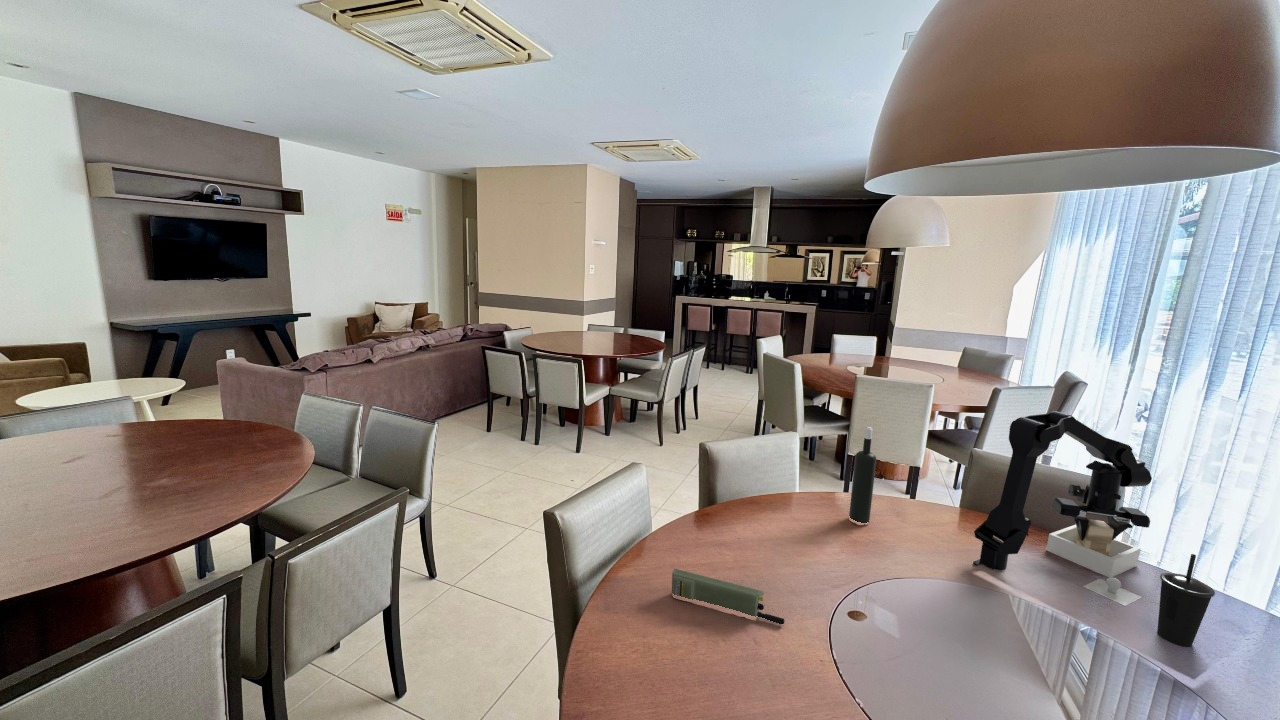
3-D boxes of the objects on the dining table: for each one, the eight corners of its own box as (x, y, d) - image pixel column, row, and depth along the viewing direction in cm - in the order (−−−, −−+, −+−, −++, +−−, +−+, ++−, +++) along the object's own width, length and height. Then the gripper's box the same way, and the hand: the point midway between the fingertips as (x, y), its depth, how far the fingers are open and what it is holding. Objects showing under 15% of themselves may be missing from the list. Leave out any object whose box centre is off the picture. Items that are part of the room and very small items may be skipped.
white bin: (1109, 582, 127) (1114, 560, 126) (1045, 554, 139) (1049, 533, 138) (1136, 569, 133) (1140, 548, 132) (1072, 543, 145) (1076, 524, 144)
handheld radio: (674, 591, 118) (784, 622, 109) (670, 600, 115) (782, 632, 106) (675, 566, 117) (787, 594, 107) (670, 574, 114) (785, 604, 104)
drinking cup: (1207, 662, 100) (1229, 570, 97) (1154, 646, 104) (1174, 557, 101) (1192, 639, 107) (1212, 552, 103) (1142, 625, 111) (1161, 541, 107)
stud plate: (1124, 610, 116) (1128, 592, 115) (1081, 590, 123) (1085, 573, 122) (1140, 601, 119) (1144, 583, 118) (1098, 583, 126) (1102, 565, 125)
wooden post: (1108, 558, 132) (1113, 529, 131) (1084, 554, 134) (1090, 526, 132) (1098, 548, 137) (1103, 521, 135) (1075, 545, 138) (1080, 517, 137)
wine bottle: (851, 525, 152) (861, 429, 147) (846, 516, 158) (856, 423, 153) (871, 527, 151) (882, 430, 146) (866, 518, 157) (876, 425, 152)
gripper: (1131, 480, 137) (1120, 534, 139) (1048, 470, 143) (1039, 521, 145) (1157, 497, 126) (1144, 554, 129) (1066, 485, 132) (1056, 540, 135)
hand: (1093, 541), depth 135 cm, fingers closed on wooden post, 5 cm apart
